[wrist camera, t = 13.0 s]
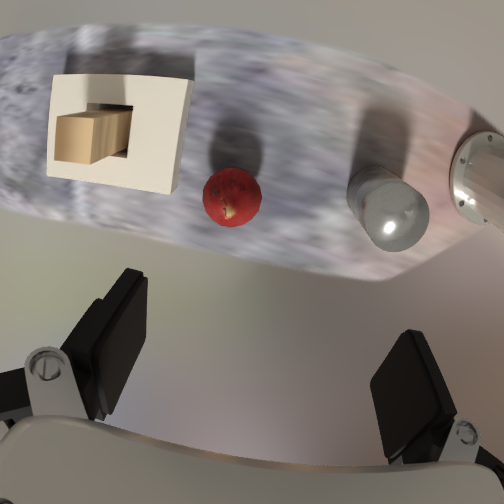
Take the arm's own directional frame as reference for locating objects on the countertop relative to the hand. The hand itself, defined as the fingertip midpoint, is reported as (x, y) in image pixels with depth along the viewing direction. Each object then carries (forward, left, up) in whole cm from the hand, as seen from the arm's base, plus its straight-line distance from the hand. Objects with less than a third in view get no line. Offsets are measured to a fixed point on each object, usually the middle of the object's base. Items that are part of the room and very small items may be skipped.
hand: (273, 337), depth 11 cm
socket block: (+9, -15, -26) cm, 31 cm away
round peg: (-8, +10, -26) cm, 29 cm away
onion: (+4, -1, -26) cm, 26 cm away
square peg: (+9, -15, -26) cm, 31 cm away
